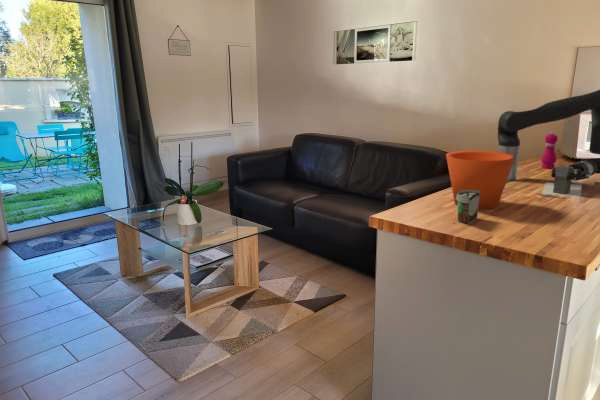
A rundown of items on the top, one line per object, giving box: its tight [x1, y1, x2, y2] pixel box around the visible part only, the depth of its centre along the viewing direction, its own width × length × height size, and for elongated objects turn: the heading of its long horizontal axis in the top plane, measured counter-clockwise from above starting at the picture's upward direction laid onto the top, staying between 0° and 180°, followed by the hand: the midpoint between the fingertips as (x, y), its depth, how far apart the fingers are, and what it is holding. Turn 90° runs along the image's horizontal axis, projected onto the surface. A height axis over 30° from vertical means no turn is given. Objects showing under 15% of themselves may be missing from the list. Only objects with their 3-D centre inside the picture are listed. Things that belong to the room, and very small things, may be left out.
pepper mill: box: [540, 131, 559, 170], centre depth 239 cm, size 7×7×20 cm
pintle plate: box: [540, 181, 583, 200], centre depth 190 cm, size 24×14×4 cm, turn 147°
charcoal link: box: [553, 165, 573, 195], centre depth 184 cm, size 5×5×11 cm
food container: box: [456, 190, 480, 226], centre depth 156 cm, size 12×6×10 cm, turn 141°
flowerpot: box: [445, 149, 515, 210], centre depth 174 cm, size 25×25×20 cm
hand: (560, 176), depth 182 cm, fingers open, 5 cm apart
